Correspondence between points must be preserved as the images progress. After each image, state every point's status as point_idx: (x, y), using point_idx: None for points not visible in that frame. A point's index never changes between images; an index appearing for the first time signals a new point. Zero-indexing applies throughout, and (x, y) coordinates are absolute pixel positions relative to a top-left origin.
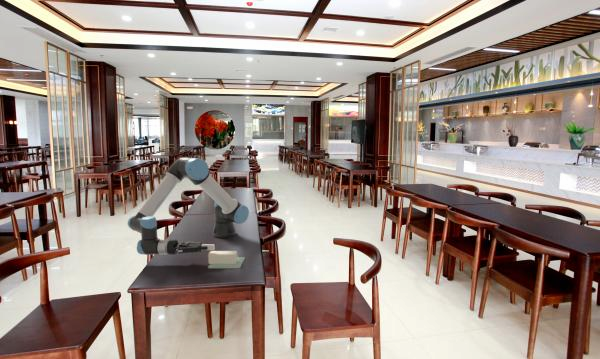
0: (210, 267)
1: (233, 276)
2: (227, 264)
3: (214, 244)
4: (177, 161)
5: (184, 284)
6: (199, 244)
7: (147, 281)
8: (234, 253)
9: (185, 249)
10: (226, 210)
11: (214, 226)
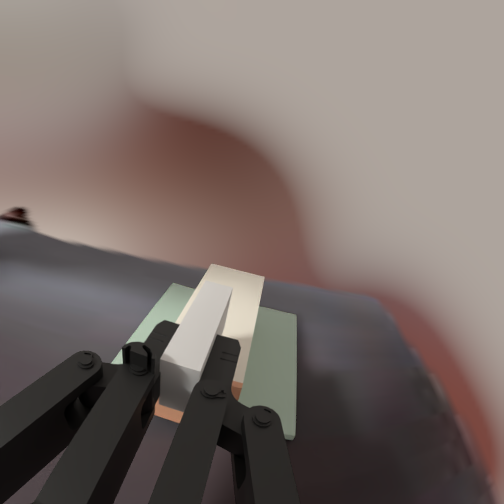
0: (295, 423)
1: (370, 343)
2: (257, 347)
3: (209, 282)
4: None
5: (488, 488)
6: (144, 387)
7: None
8: (250, 276)
9: None
10: None
11: None
